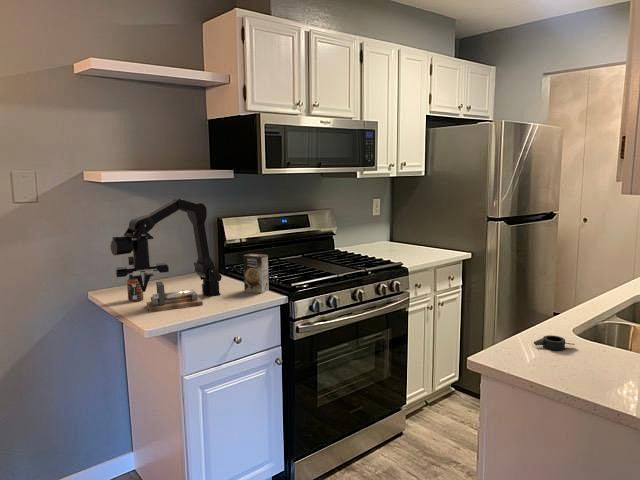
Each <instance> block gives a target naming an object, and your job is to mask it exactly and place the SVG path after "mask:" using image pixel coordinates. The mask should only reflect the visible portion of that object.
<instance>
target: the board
mask: <svg viewBox="0 0 640 480" xmlns="http://www.w3.org/2000/svg"><path fill="white" fill-rule="evenodd" d="M203 305H204V301H203V300H202V299H201V298H200V297H199V296H198V295H197V300H196V301H192V300H191V299H190V297H189V298H183V299H182V298H181V299H173V300H165V305H160V304H159V302H158V306H153V305H152V304H151V301H146V307H147V309H148V311H149V313H154V312H162V311H167V310H168V311H169V310H174V309H176V310H177V309H185V308H190V307H197V306H203Z"/></svg>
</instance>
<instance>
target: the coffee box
mask: <svg viewBox="0 0 640 480" xmlns="http://www.w3.org/2000/svg"><path fill="white" fill-rule="evenodd" d="M242 256H243V282H244V283H243V284H244V290H243V291H244V292H245V293H254V294H255V293H256V294H264V293H266V292H268V291H270V289H269V260H268V259H269V255H268V254H262V253H247V254H243V255H242Z"/></svg>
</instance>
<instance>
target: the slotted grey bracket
mask: <svg viewBox="0 0 640 480" xmlns="http://www.w3.org/2000/svg"><path fill="white" fill-rule="evenodd" d="M155 285H156V294H159V301H158V302H159V304H160V305H165V293H166V292H165V285H164V283H163V282H162V281H156V282H155Z"/></svg>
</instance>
